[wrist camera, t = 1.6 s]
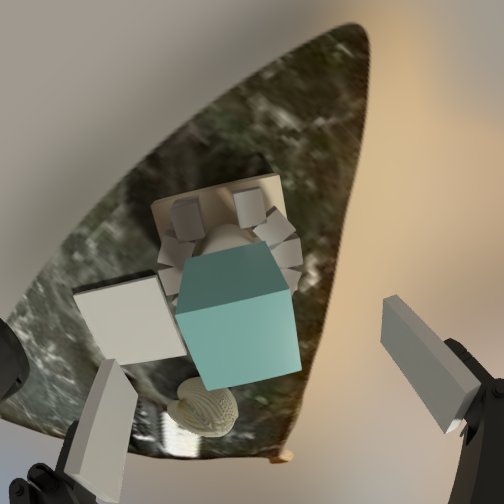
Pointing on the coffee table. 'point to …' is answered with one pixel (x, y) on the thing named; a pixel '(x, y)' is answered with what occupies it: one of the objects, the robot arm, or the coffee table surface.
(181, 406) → the seashell
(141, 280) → the mat
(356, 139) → the coffee table surface
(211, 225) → the socket
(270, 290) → the plug
